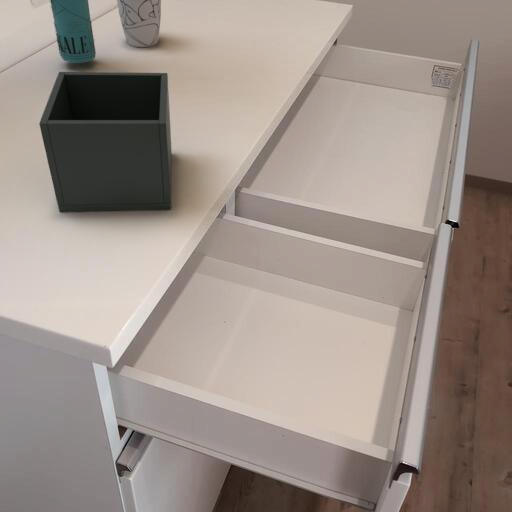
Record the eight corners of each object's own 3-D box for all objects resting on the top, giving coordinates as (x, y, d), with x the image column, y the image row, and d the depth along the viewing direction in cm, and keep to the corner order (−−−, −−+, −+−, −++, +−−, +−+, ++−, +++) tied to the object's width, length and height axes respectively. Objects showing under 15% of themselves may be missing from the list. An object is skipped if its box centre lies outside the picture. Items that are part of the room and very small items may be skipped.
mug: (107, 33, 112) (100, -19, 105) (144, 27, 116) (140, -24, 109) (133, 52, 105) (128, -3, 98) (171, 45, 109) (168, -9, 103)
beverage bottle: (87, 54, 103) (70, -66, 90) (104, 67, 99) (88, -57, 86) (54, 62, 100) (31, -62, 87) (71, 74, 96) (49, -52, 83)
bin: (59, 212, 67) (39, 123, 59) (74, 154, 77) (58, 71, 69) (171, 209, 68) (166, 123, 61) (171, 153, 79) (167, 72, 71)
